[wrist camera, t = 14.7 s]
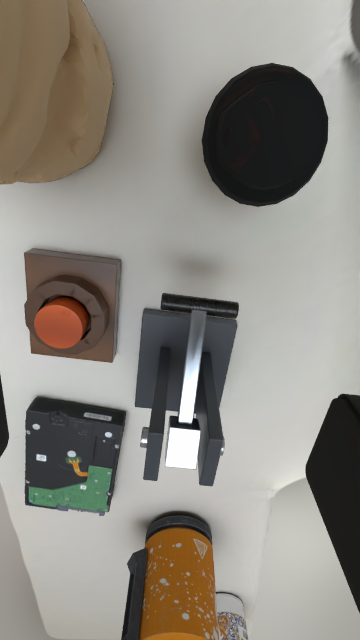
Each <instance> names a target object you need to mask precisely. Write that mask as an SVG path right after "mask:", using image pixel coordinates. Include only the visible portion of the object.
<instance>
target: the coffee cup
mask: <svg viewBox="0 0 360 640" xmlns="http://www.w3.org/2000/svg"><path fill="white" fill-rule="evenodd" d="M327 141H328V116H327V112H326V108H325V105H324V101H323V97H322V96H321V94H320V93H319V91H318V90H317V88H316V87H315V85H314V84H313V82H312V81H311V79H309V78H308V77H307V76H305V75H304V74H302V73H301V72H299V71H298V70H296V69H295V68H293V67H289V66H284V65H279V64H274V63H270V64H265V65H259V66H254V67H250V68H249V69H247V70H245V71H243V72H242V73H240V74H238V75H237V76H235V77H233V78H232V79H231V80H230V81H229V82H228V83H227V84H226V85H225V86H224V88H223V89H222V90H221V91H220V92H219V93H218V94H217V95H216V97H215V99H214V101H213V103H212V105H211V107H210V110H209V112H208V114H207V116H206V119H205V125H204V131H203V137H202V145H203V155H204V162H205V165H206V167H207V169H208V172H209V174H210V176H211V179H212V181H213V182H214V183H215V184H216V185H217V186H218V188H219V189H220V190H221V191H222V192H223V193H224V194H225V195H226V196H228V197H230V198H232V199H233V200H235V201H237V202H239V203H240V204H246V205H252V206H257V207H259V206H266V205H272V204H277V203H279V202H281V201H283V200H285V199H287V198H289V197H291V196H293V195H295V194H296V193H297V192H298V191H299V190H300V189H301V188H302V187H303V186H304V185H305V184H307V183H308V182H309V181H310V179H311V177H312V176H313V174H314V173H315V171H316V169H317V168H318V166H319V165H320V163H321V160H322V157H323V154H324V151H325V147H326V144H327Z"/></svg>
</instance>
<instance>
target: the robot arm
mask: <svg viewBox="0 0 360 640" xmlns="http://www.w3.org/2000/svg"><path fill="white" fill-rule="evenodd" d="M8 440H9V432H8V425H7V418H6V411H5V404H4V397H3V390H2V383H1V376H0V457H1V455H2V454H3V452H4V450H5V449H6V447H7V444H8ZM306 477H307V480H308V483H309V485H310V488H311V490H312V493H313V495H314V498H315V501H316V503H317V506H318V508H319V511H320V513H321V516H322V518H323V521H324V524H325V526H326V528H327V531H328V534H329V536H330V539H331V541H332V544H333V547H334V549H335V551H336V554H337V557H338V559H339V561H340V564H341V567H342V569H343V572H344V575H345V577H346V580H347V582H348V585H349V587H350V590H351V593H352V595H353V597H354V600H355V602H356V605H357V608H358V610H359V612H360V396H359V395H349V394H341V395H339V396H338V398H335V399H333V400H332V402H331V404H330V407H329V409H328V412H327V414H326V417H325V419H324V422H323V424H322V426H321V429H320V431H319V434H318V436H317V439H316V441H315V444H314V446H313V449H312V451H311V454H310V456H309V459H308V461H307V464H306Z"/></svg>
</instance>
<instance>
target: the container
mask: <svg viewBox="0 0 360 640" xmlns="http://www.w3.org/2000/svg"><path fill="white" fill-rule="evenodd" d="M113 85H114V83H113V79H112V71H111V65H110V60H109V56H108V52H107V49H106V46H105V43H104V41H103V39H102V37H101V35H100V33H99V31H98V30H97V28H96V26H95V24H94V22H93V20H92V18H91V16H90V14H89V12H88V10H87V8H86V6H85V4H84V3H83V1H82V0H0V184H12V183H14V182H16V181H18V182H28V183H41V182H51V181H54V180H58V179H61V178H63V177H66V176H68V175H70V174H71V173H73V172H75V171H76V170H78V169H81V168H84V167H85V166H87V165H88V164H89V163H90V162H91V161H92V160H93V159H94V158H95V157H96V155H97V154H98V152H99V150H100V147H101V143H102V139H103V136H104V132H105V127H106V121H107V115H108V110H109V105H110V101H111V96H112V91H113Z"/></svg>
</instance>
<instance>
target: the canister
mask: <svg viewBox="0 0 360 640" xmlns="http://www.w3.org/2000/svg"><path fill="white" fill-rule="evenodd" d="M127 565H128V568H129V571H130V580H129V587H128V595H127V602H126V609H125V617H124V624H123V631H122V639H121V640H219V630H218V616H217V603H216V589H215V576H214V562H213V549H212V536H211V532H210V530H209V528H208V527H207V526H206V525H205V524H204V523H203V522H201V521H199V520H197V519H195V518H192V517H188V516H168V517H164V518H161V519H159V520H157V521H155V522H154V523H153V524H152V525H151V526H150V527H149V528H148V530H147V533H146V541H145V548H144V549H142V550H140V551H137V552H135V553H133V554H132V556H131V558H130V559H129V561H128V563H127Z"/></svg>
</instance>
